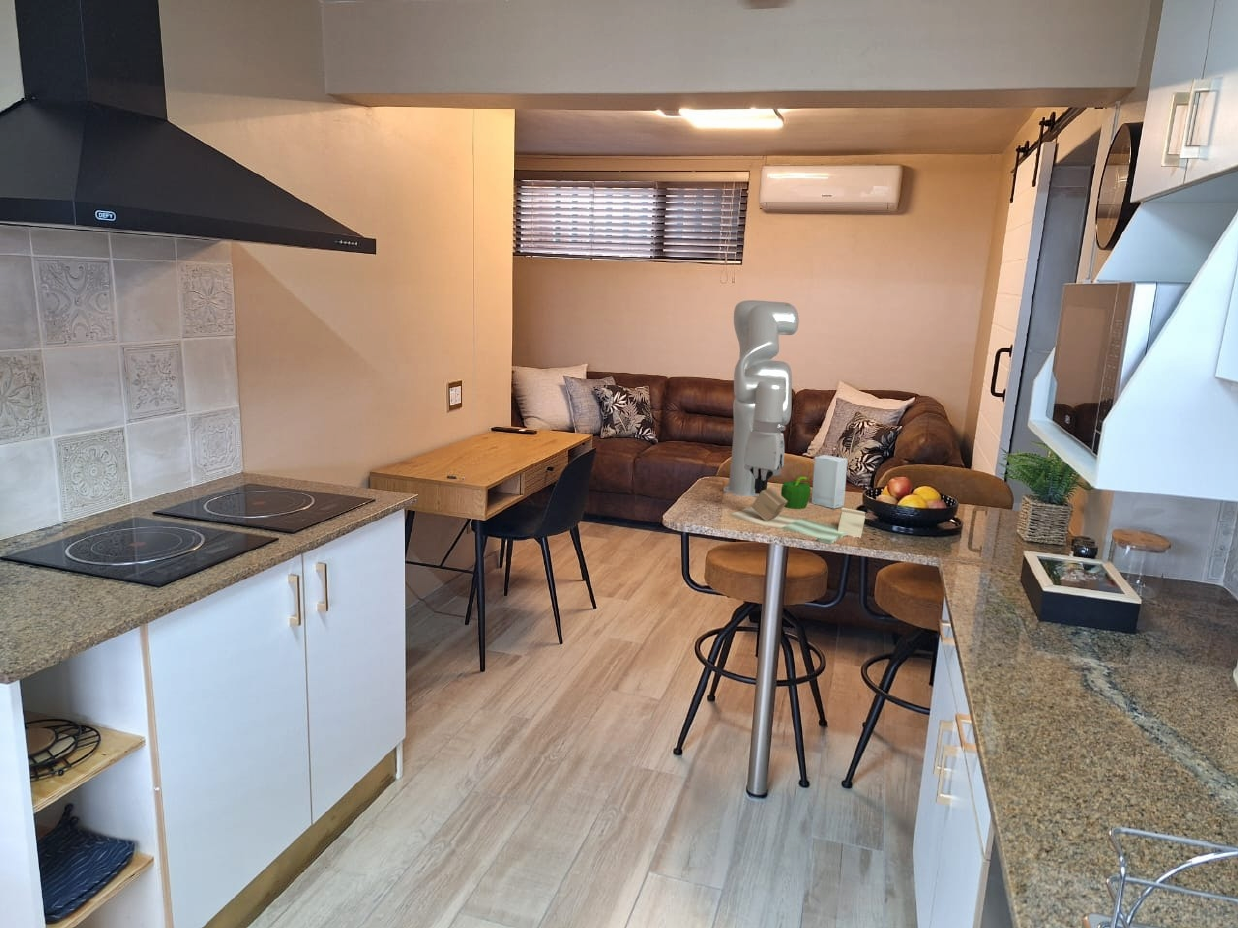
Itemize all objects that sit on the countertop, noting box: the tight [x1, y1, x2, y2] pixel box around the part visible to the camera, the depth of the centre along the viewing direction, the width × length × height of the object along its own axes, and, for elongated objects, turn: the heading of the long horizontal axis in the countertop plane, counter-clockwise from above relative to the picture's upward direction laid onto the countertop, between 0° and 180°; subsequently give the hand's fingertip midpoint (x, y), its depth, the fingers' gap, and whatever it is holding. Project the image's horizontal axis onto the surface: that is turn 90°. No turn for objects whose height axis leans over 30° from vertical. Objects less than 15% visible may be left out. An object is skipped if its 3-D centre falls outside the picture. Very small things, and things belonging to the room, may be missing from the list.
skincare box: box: [811, 454, 848, 509], centre depth 245 cm, size 8×6×15 cm
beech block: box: [837, 507, 866, 539], centre depth 217 cm, size 6×6×6 cm
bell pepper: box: [780, 476, 812, 510], centre depth 238 cm, size 8×8×10 cm
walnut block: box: [749, 487, 788, 522], centre depth 223 cm, size 6×6×6 cm
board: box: [726, 506, 846, 545], centre depth 221 cm, size 14×30×1 cm, turn 55°
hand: (760, 492), depth 224 cm, fingers closed
